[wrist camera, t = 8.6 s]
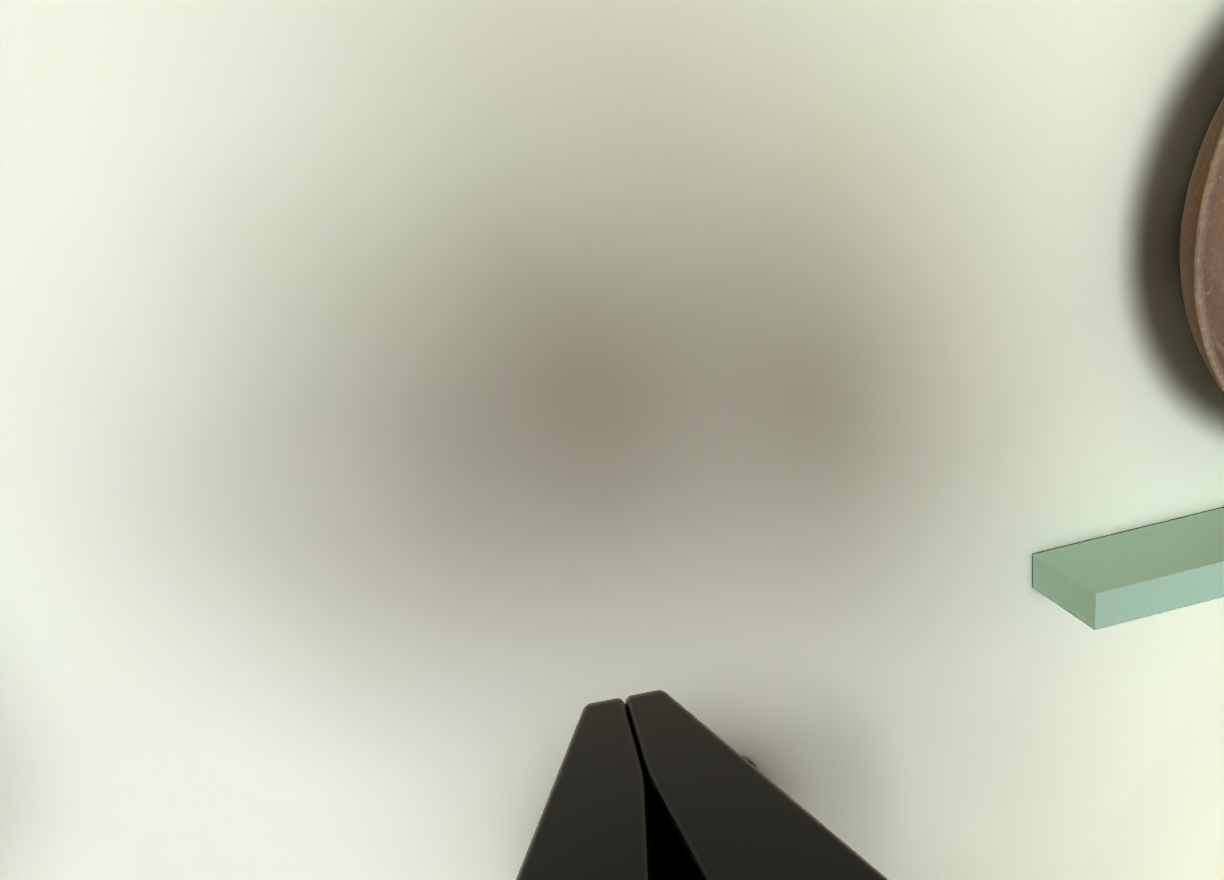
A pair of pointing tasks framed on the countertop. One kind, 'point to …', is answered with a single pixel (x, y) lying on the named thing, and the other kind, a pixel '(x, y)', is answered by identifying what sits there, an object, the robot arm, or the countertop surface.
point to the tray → (1136, 570)
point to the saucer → (1206, 249)
